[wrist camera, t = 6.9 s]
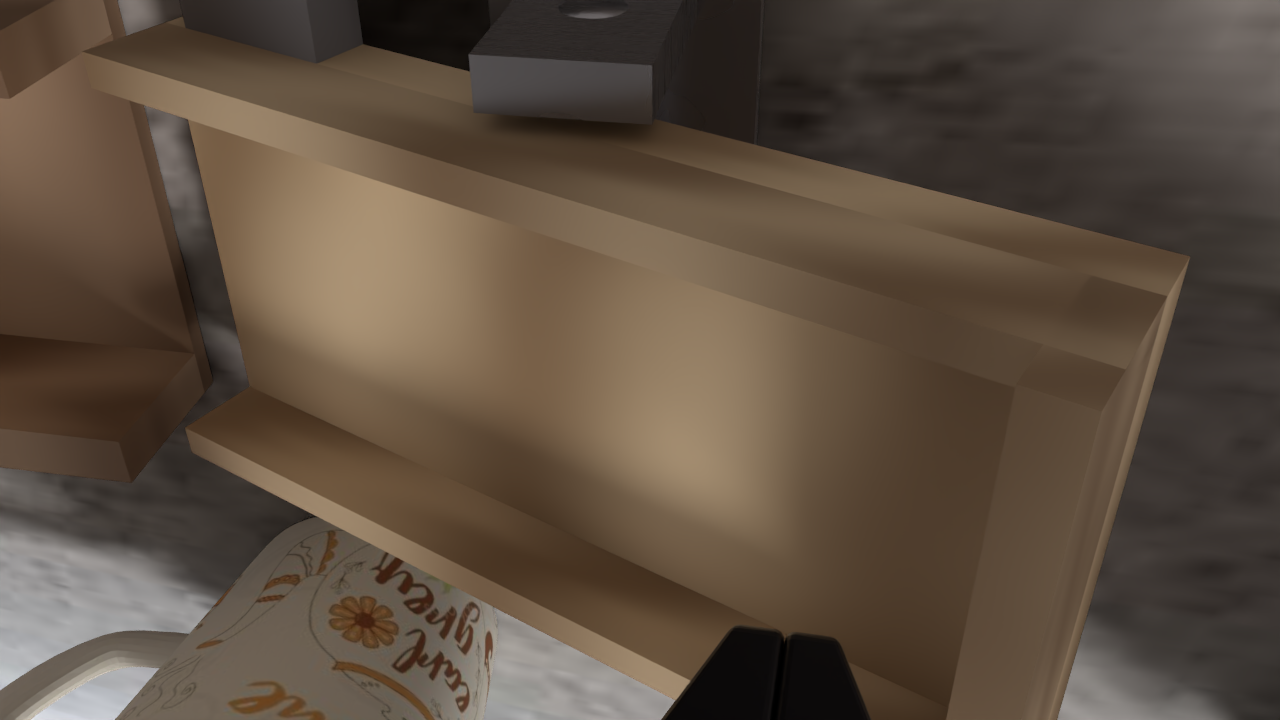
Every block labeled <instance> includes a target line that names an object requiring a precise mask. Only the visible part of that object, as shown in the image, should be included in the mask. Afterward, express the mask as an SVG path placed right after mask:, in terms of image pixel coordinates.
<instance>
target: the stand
mask: <svg viewBox="0 0 1280 720" xmlns="http://www.w3.org/2000/svg"><path fill="white" fill-rule="evenodd" d="M488 4H489V16H490V29H489V30H488V31H487V33H486V34H485V35H484V36H483V37H482V39H481V40H480V41H479V42H478V44H477V45H476V46H475V47H474V48H473V50H472V51H471V52H470V53H469V54H468V55H469V66H470V77H471V88H472V100H473V111H474V113H483V114H498V115H513V116H528V117H543V118H558V119H573V120H588V121H603V122H618V123H633V124H648V125H652V124H653V122H654V119H656V120H660V121H664V122H668V123H672V124H676V125H680V126H684V127H688V128H691V129H695V130H699V131H703V132H707V133H711V134H715V135H719V136H723V137H726V138H730V139H734V140H738V141H742V142H746V143H750V144H754V145H757V131H758V112H759V93H760V74H761V55H762V36H763V17H764V0H488Z"/></svg>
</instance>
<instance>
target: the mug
mask: <svg viewBox="0 0 1280 720" xmlns="http://www.w3.org/2000/svg"><path fill="white" fill-rule="evenodd" d="M497 638H498V628H497V620H496V615H495V611H494V608H493V606H491V605H489V604H487V603H485V602H483V601H481V600H479V599H477V598H475V597H473V596H471V595H469V594H467V593H465V592H463V591H461V590H459V589H458V588H456V587H454V586H452V585H450V584H448V583H446V582H444V581H442V580H440V579H438V578H436V577H434V576H432V575H430V574H428V573H426V572H424V571H422V570H420V569H419V568H417V567H415V566H413V565H411V564H409V563H407V562H405V561H403V560H401V559H399V558H397V557H395V556H393V555H391V554H389V553H387V552H385V551H383V550H381V549H379V548H378V547H376V546H374V545H372V544H370V543H368V542H366V541H364V540H362V539H360V538H358V537H356V536H354V535H352V534H350V533H348V532H346V531H344V530H342V529H340V528H339V527H337V526H335V525H333V524H331V523H329V522H327V521H325V520H323V519H321V518H319V517H314V518H310V519H307V520H304V521H301V522H299V523H296V524H294V525H292V526H291V527H289V528H287V529H285V530H284V531H283V532H281V533H280V534H279V535H277V536H276V537H275V538H274V539H273V540H272V541H271V542H270V543H269V544H268V545H267V546H266V547H265V548H264V549H263V550H262V551H261V552H260V554H259V555H258V556H257V557H256V558H255V559H254V560H253V561H252V563H251V564H250V565H249V566H248V567H247V568H246V569H245V571H244V572H243V573H242V574H241V575H240V576H239V578H238V579H237V580H236V581H235V582H234V583H233V584H232V586H231V587H230V588H229V589H228V590H227V591H226V592H225V594H224V595H223V596H222V597H221V598H220V599H219V601H218V602H217V603H216V604H215V605H214V606H213V607H212V609H211V610H210V611H209V612H208V613H207V614H206V616H205V617H204V618H203V619H202V620H201V621H200V622H199V624H198V625H197V626H196V627H195V628H194V629H193V630H192V632H191V633H190V634H185V633H176V632H159V631H122V632H115V633H111V634H107V635H103V636H100V637H97V638H95V639H92V640H90V641H87V642H84V643H82V644H79V645H77V646H75V647H73V648H71V649H69V650H67V651H65V652H63V653H60V654H58V655H56V656H54V657H53V658H51V659H49V660H47V661H46V662H44V663H42V664H40V665H38V666H37V667H35V668H33V669H32V670H30V671H29V672H27V673H26V674H24V675H22V676H21V677H19V678H18V679H16V680H15V681H13V682H12V683H10V684H9V685H7V686H6V687H5V688H3V689H2V690H1V691H0V720H31V719H32V718H33V717H34V716H36V715H37V714H38V713H40V712H41V711H43V710H44V709H45V708H47V707H48V706H50V705H51V704H53V703H54V702H56V701H57V700H59V699H60V698H62V697H63V696H65V695H66V694H68V693H69V692H71V691H73V690H74V689H76V688H78V687H79V686H81V685H83V684H84V683H86V682H88V681H90V680H92V679H94V678H96V677H98V676H100V675H102V674H105V673H107V672H110V671H114V670H117V669H121V668H127V667H151V668H160V669H159V670H158V671H157V672H156V673H155V674H154V675H153V677H152V678H151V679H150V680H149V681H148V682H147V683H146V685H145V686H144V687H143V688H142V689H141V690H140V692H139V693H138V694H137V695H136V696H135V697H134V698H133V700H132V701H131V702H130V703H129V704H128V705H127V707H126V708H125V709H124V710H123V711H122V712H121V713H120V715H119V716H118V717H117V718H116V719H115V720H483V717H484V712H485V707H486V702H487V696H488V691H489V686H490V681H491V676H492V671H493V665H494V660H495V654H496V648H497Z"/></svg>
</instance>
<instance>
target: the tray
mask: <svg viewBox="0 0 1280 720" xmlns="http://www.w3.org/2000/svg"><path fill="white" fill-rule="evenodd" d="M125 36H126V33H125V29H124V25H123V21H122V17H121V13H120V9H119V5H118V1H117V0H0V467H2V468H11V469H19V470H27V471H36V472H44V473H53V474H61V475H69V476H78V477H86V478H94V479H103V480H111V481H120V482H128V483H132V482H133V481H134V479H135V478H136V477H137V476H138V474H139V473H140V472H141V471H142V469H143V468H144V467H145V466H146V465H147V463H148V462H149V461H150V460H151V458H152V457H153V456H154V455H155V453H156V452H157V451H158V450H159V448H160V447H161V446H162V445H163V443H164V442H165V441H166V440H167V439H168V437H169V436H170V435H171V434H172V432H173V431H174V430H175V429H176V427H177V426H178V425H179V424H180V422H181V421H182V420H183V419H184V418H185V416H186V415H187V414H188V413H189V411H190V410H191V409H192V408H193V406H194V405H195V404H196V403H197V401H198V400H199V399H200V398H201V397H202V395H203V394H204V393H205V392H206V390H207V389H208V388H209V387H210V385H211V384H212V383H213V379H212V375H211V371H210V367H209V363H208V359H207V355H206V351H205V347H204V343H203V339H202V335H201V331H200V327H199V323H198V319H197V315H196V311H195V307H194V303H193V299H192V295H191V291H190V287H189V283H188V279H187V275H186V271H185V267H184V263H183V259H182V255H181V251H180V248H179V244H178V240H177V236H176V232H175V228H174V224H173V220H172V216H171V212H170V208H169V204H168V200H167V196H166V192H165V188H164V184H163V180H162V176H161V172H160V168H159V164H158V160H157V156H156V152H155V148H154V144H153V140H152V136H151V132H150V128H149V124H148V121H147V117H146V113H145V109H144V105H142V104H139V103H136V102H133V101H130V100H127V99H124V98H121V97H117V96H114V95H111V94H108V93H105V92H102V91H99V90H96V89H93V88H91V85H90V81H89V77H88V74H87V70H86V66H85V63H84V59H83V56H82V52H81V51H84V50H87V49H90V48H93V47H96V46H99V45H102V44H104V43H107V42H110V41H113V40H116V39H119V38H122V37H125Z"/></svg>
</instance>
